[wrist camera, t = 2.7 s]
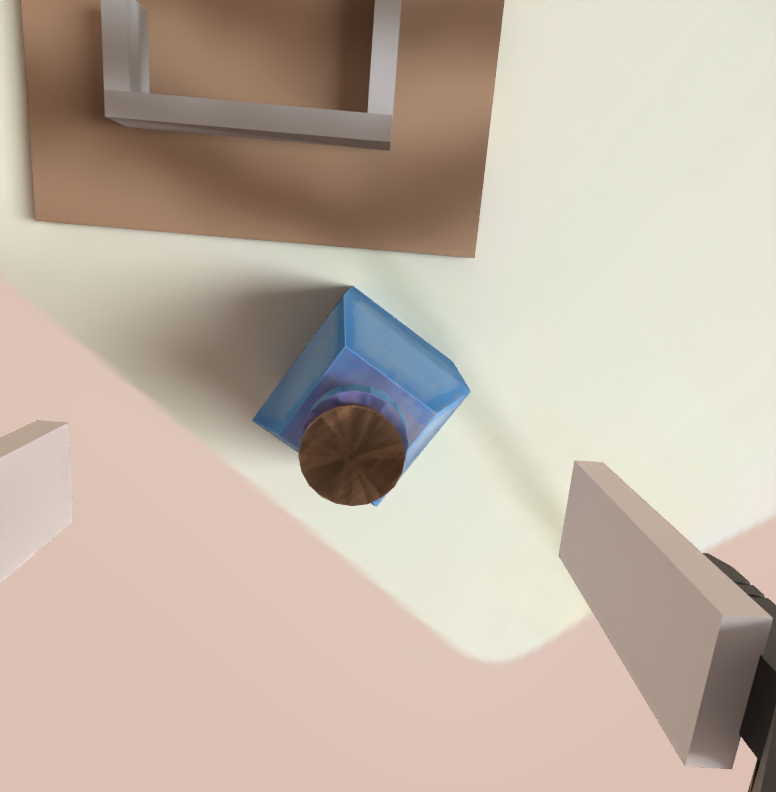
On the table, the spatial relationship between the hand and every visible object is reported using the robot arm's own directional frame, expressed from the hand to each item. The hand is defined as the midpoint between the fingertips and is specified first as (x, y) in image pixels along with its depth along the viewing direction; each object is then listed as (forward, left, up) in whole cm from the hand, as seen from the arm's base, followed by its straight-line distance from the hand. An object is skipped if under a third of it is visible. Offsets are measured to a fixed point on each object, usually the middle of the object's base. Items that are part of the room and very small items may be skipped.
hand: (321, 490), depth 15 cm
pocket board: (-16, -5, -14) cm, 22 cm away
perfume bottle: (0, +1, -14) cm, 14 cm away
